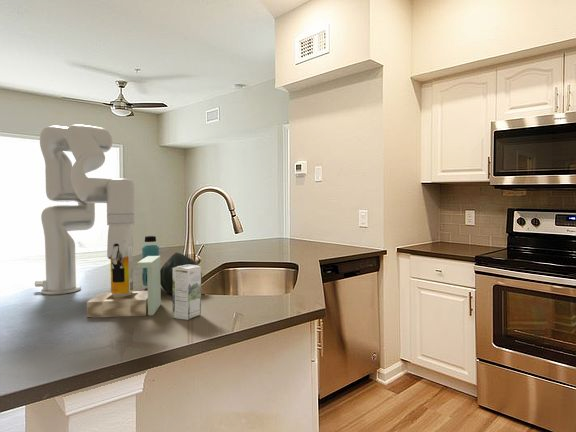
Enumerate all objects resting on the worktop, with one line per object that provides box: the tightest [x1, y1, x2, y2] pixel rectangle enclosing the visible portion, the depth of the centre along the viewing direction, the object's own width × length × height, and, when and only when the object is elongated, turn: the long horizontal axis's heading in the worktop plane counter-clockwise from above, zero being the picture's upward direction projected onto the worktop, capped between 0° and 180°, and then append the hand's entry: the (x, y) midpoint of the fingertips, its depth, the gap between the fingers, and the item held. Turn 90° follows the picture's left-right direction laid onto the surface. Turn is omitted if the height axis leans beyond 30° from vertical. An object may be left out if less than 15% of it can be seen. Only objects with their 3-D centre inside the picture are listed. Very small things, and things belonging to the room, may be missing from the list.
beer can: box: [110, 244, 134, 296], centre depth 117 cm, size 6×6×15 cm
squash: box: [160, 252, 203, 295], centre depth 142 cm, size 14×15×15 cm
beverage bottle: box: [141, 235, 160, 287], centre depth 148 cm, size 6×7×20 cm
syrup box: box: [172, 265, 202, 321], centre depth 111 cm, size 6×6×14 cm
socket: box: [86, 290, 148, 318], centre depth 117 cm, size 16×12×4 cm
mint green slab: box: [136, 255, 162, 316], centre depth 118 cm, size 4×14×16 cm, turn 8°
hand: (121, 279), depth 117 cm, fingers closed on beer can, 6 cm apart
